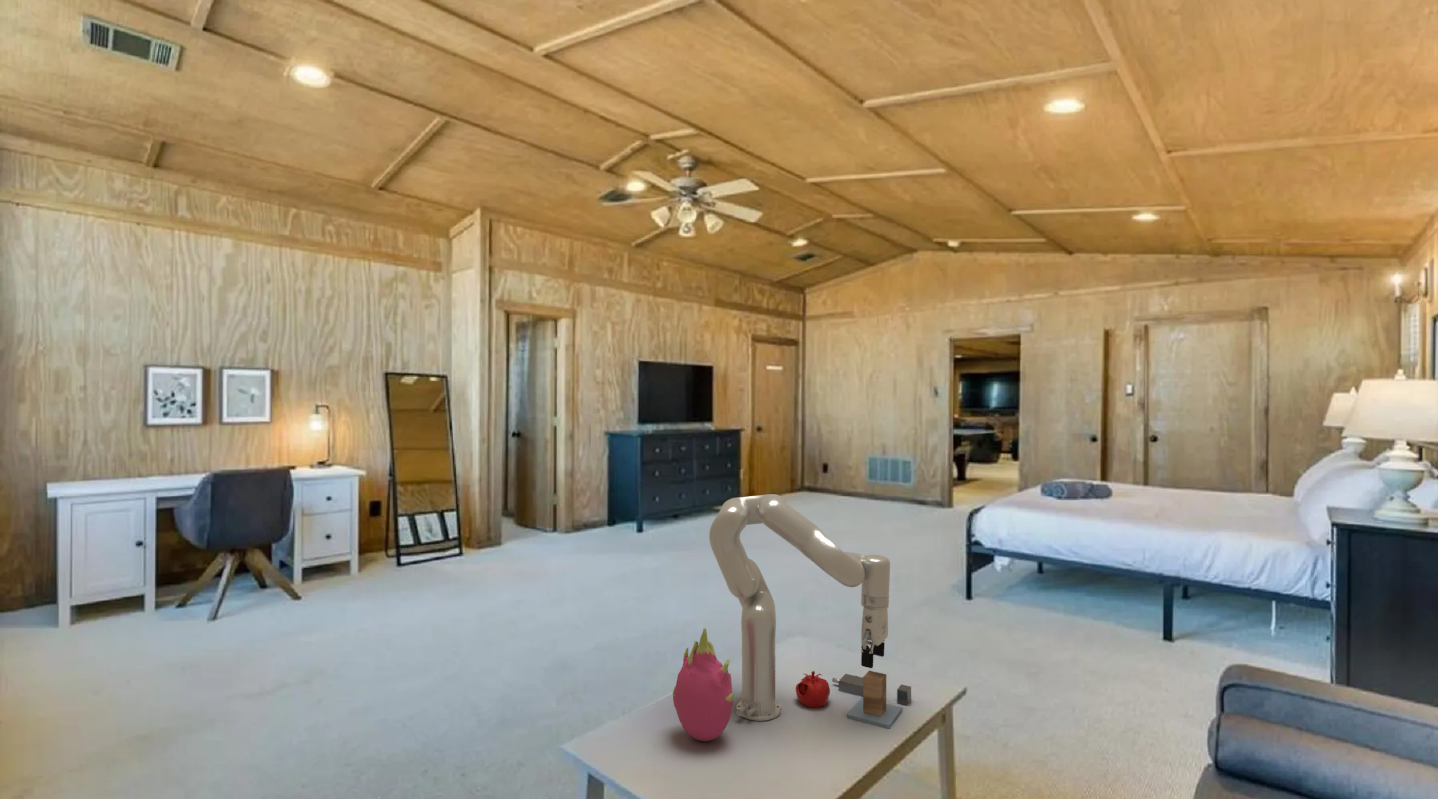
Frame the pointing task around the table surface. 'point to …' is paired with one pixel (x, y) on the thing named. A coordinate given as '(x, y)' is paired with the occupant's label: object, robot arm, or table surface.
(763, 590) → the robot arm
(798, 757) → the table surface
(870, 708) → the walnut peg
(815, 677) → the pomegranate
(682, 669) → the pink dragon fruit
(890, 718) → the pad
